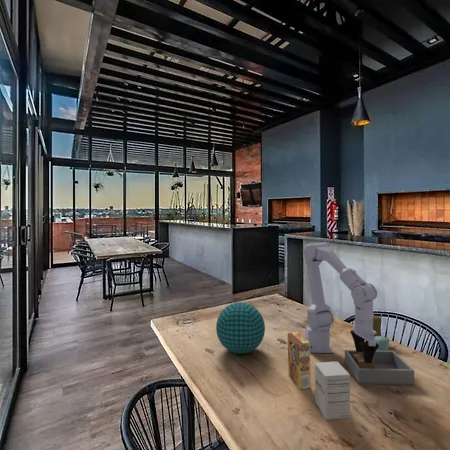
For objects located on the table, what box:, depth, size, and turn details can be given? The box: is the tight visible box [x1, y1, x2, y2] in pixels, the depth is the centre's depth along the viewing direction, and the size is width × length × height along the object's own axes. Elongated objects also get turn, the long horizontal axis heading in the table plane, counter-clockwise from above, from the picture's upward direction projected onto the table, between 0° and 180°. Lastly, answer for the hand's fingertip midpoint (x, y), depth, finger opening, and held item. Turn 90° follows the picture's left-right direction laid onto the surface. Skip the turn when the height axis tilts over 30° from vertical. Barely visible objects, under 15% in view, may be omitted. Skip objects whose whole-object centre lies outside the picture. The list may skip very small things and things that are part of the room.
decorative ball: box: [215, 301, 266, 355], centre depth 121 cm, size 20×20×20 cm
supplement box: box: [314, 361, 351, 421], centre depth 84 cm, size 7×7×13 cm
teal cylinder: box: [374, 335, 390, 351], centre depth 115 cm, size 5×5×7 cm
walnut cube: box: [354, 354, 374, 369], centre depth 103 cm, size 5×5×5 cm
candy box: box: [287, 331, 312, 390], centre depth 99 cm, size 9×4×15 cm, turn 13°
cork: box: [373, 314, 382, 337], centre depth 128 cm, size 6×6×11 cm
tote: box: [344, 349, 415, 387], centre depth 103 cm, size 18×14×5 cm
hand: (363, 356), depth 103 cm, fingers open, 7 cm apart
